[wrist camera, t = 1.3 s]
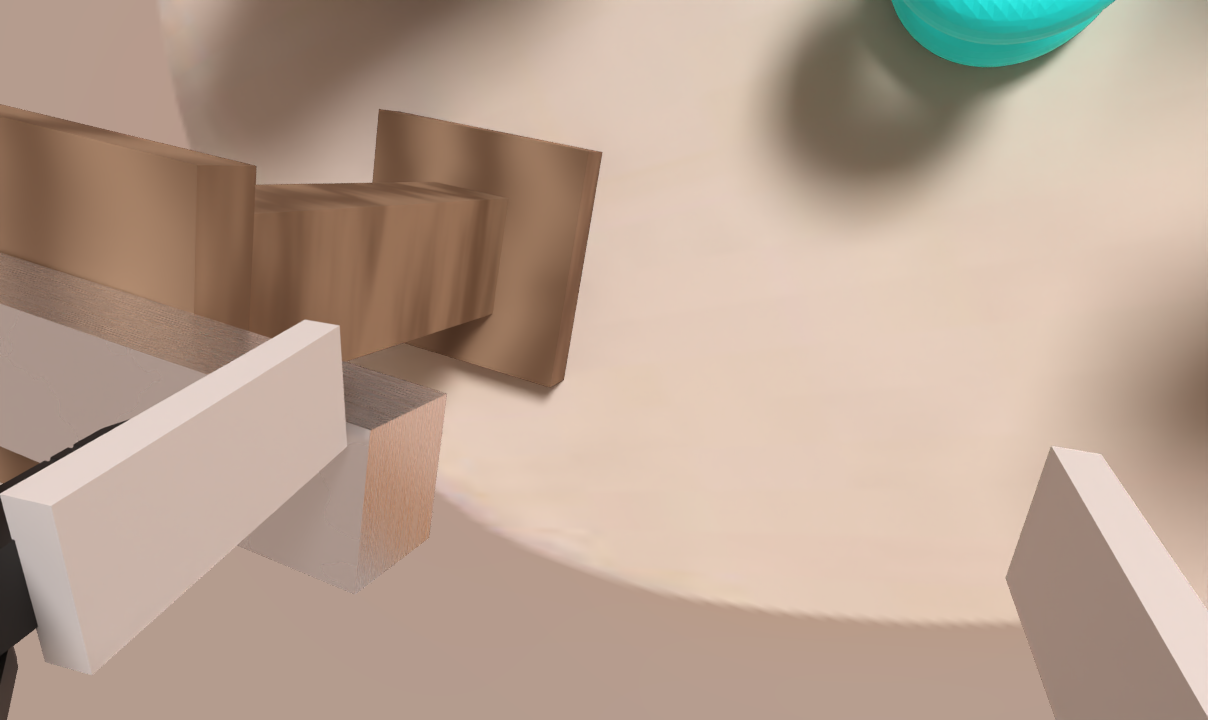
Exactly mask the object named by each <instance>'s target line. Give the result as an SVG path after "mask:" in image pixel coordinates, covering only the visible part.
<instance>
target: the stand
mask: <svg viewBox="0 0 1208 720" xmlns="http://www.w3.org/2000/svg"><path fill="white" fill-rule="evenodd" d="M601 157H602V152H598V151H593V150H588V149H583V148H578V147H573V146H568V145H563V144H558V143H553V142H548V141H543V140H538V139H533V138H528V137H523V136H518V135H513V134H508V133H503V132H498V131H493V130H488V129H483V128H478V127H473V126H468V125H463V124H458V123H453V122H448V121H443V120H438V119H433V118H428V117H423V116H418V115H413V114H408V113H403V112H398V111H390V110H381V109H379V115H378V126H377V137H376V149H375V160H374V172H373V183H335V184H276V185H256V166H255V165H251V164H246V163H242V162H238V161H234V160H230V159H226V158H221V157H217V156H213V155H209V154H205V153H201V152H197V151H192V150H188V149H184V148H180V147H176V146H171V145H168V144H163V143H159V142H155V141H151V140H147V139H143V138H138V137H134V136H130V135H126V134H121V133H118V132H113V131H109V130H105V129H101V128H97V127H93V126H89V125H84V124H80V123H76V122H72V121H68V120H64V119H60V118H55V117H51V116H47V115H43V114H39V113H35V112H30V111H26V110H22V109H18V108H14V107H10V106H6V105H1V104H0V253H3V254H6V255H9V256H12V257H15V258H18V259H22V260H25V261H28V262H31V263H34V264H37V265H41V266H44V267H47V268H50V269H53V270H56V271H60V272H63V273H66V274H69V275H72V276H75V277H79V278H82V279H85V280H88V281H91V282H94V283H98V284H101V285H104V286H107V287H110V288H113V289H117V290H120V291H123V292H126V293H129V294H132V295H136V296H139V297H142V298H145V299H148V300H151V301H155V302H158V303H161V304H164V305H167V306H170V307H174V308H177V309H180V310H183V311H186V312H190V313H193V314H196V315H199V316H202V317H205V318H209V319H212V320H215V321H218V322H221V323H224V324H228V325H231V326H234V327H237V328H240V329H243V330H247V331H250V332H253V333H256V334H259V335H262V336H266V337H269V338H274V337H275V336H277V335H279V334H281V333H282V332H284V331H286V330H288V329H289V328H291V327H293V326H295V325H296V324H298V323H300V322H302V321H303V320H310V321H316V322H322V323H328V324H334V325H340V340H341V356H342V361H345V362H346V361H349V360H352V359H355V358H358V357H361V356H364V355H368V354H371V353H374V352H377V351H380V350H383V349H386V348H389V347H392V346H395V345H398V344H401V343H406V344H409V345H413V346H416V347H419V348H422V349H426V350H429V351H432V352H436V353H439V354H442V355H445V356H449V357H452V358H455V359H458V360H462V361H465V362H468V363H471V364H475V365H478V366H481V367H485V368H488V369H491V370H494V371H498V372H501V373H504V374H507V375H511V376H514V377H517V378H520V379H524V380H527V381H530V382H533V383H537V384H540V385H543V386H547V387H552V386H554V385H556V384H557V383H559V382H561V381H562V380H564V375H565V369H566V364H567V358H568V352H569V346H570V340H571V334H572V328H573V322H574V316H575V310H576V305H577V299H578V293H579V287H580V281H581V275H582V269H583V263H584V257H585V252H586V246H587V240H588V234H589V228H590V222H591V216H592V210H593V204H594V198H595V193H596V187H597V181H598V175H599V169H600V163H601ZM37 464H39V462H37V461H34V460H32V459H29V458H27V457H25V456H22V455H20V454H17V453H15V452H13V451H10V450H8V449H6V448H3V447H1V446H0V482H1V483H5V482H7V481H9V480H11V479H12V478H14V477H16V476H18V475H19V474H21V473H23V472H25V471H27V470H28V469H30V468H32V467H34V466H36V465H37Z"/></svg>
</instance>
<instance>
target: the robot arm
mask: <svg viewBox="0 0 1208 720" xmlns="http://www.w3.org/2000/svg"><path fill="white" fill-rule="evenodd" d="M346 447H347V435H346V419H345V403H344V388H343V372H342V356H341V340H340V325H334V324H328V323H322V322H316V321H310V320H303V321H302V322H300V323H298V324H296V325H295V326H293V327H291V328H289V329H288V330H286V331H284V332H282V333H281V334H279V335H277V336H275V337H274V338H272V339H270V340H268V341H267V342H265V343H263V344H261V345H260V346H258V347H256V348H254V349H253V350H251V351H249V352H247V353H246V354H244V355H242V356H240V357H239V358H237V359H235V360H233V361H232V362H230V363H228V364H226V365H225V366H223V367H221V368H219V369H217V370H216V371H214V372H212V373H210V374H209V375H207V376H205V377H203V378H202V379H200V380H198V381H196V382H195V383H193V384H191V385H189V386H188V387H186V388H184V389H182V390H181V391H179V392H177V393H175V394H174V395H172V396H170V397H168V398H167V399H165V400H163V401H161V402H160V403H158V404H156V405H154V406H153V407H151V408H149V409H147V410H146V411H144V412H142V413H140V414H139V415H137V416H135V417H133V418H132V419H129V420H126V421H122V422H119V423H116V424H113V425H110V426H107V427H104V428H102V429H100V430H98V431H96V432H94V433H93V434H91V435H89V436H87V437H85V438H84V439H82V440H80V441H78V442H77V443H75V444H73V448H69V447H68V448H66V449H64V450H62V451H60V452H59V453H57V454H55V455H53V456H52V457H50V461H45V460H44V461H43V462H41V463H39V464H37V465H36V466H34V467H32V468H30V469H28V470H27V471H25V472H23V473H21V474H19V475H18V476H16V477H14V478H12V479H11V480H9V481H7V482H5V483H3V484H2V485H0V720H7V717H8V712H9V707H10V702H11V698H12V693H13V688H14V683H15V679H16V674H17V670H18V664H17V657H16V654H15V650H14V647H13V646H14V645H15V644H16V643H18V642H19V641H20V640H21V639H23V638H24V637H25V636H27V635H28V634H29V633H30V632H32V631H33V630H34V629H35V628H36V630H37V633H38V637H39V640H40V644H41V648H42V652H43V655H44V659H45V662H47V663H51V664H54V665H58V666H62V667H65V668H69V669H72V670H76V671H80V672H83V673H87V674H90V675H93V674H94V673H95V672H96V671H97V670H98V669H99V668H100V667H102V666H103V665H104V664H105V663H106V662H107V661H108V660H109V659H110V658H112V657H113V656H114V655H115V654H116V653H117V652H118V651H119V650H120V649H122V648H123V647H124V646H125V645H126V644H127V643H128V642H129V641H131V640H132V639H133V638H134V637H135V636H136V635H137V634H138V633H140V632H141V631H142V630H143V629H144V628H145V627H146V626H147V625H148V624H150V623H151V622H152V621H153V620H154V619H155V618H156V617H157V616H159V615H160V614H161V613H162V612H163V611H164V610H165V609H166V608H167V607H169V606H170V605H171V604H172V603H173V602H174V601H175V600H176V599H178V598H179V597H180V596H181V595H182V594H183V593H184V592H185V591H186V590H188V589H189V588H190V587H191V586H192V585H193V584H194V583H195V582H197V581H198V580H199V579H200V578H201V577H202V576H203V575H204V574H205V573H207V572H208V571H209V570H210V569H211V568H212V567H213V566H214V565H215V564H216V563H218V562H219V561H220V560H221V559H222V558H223V557H224V556H226V555H227V554H228V553H229V552H230V551H231V550H232V549H233V548H234V547H236V546H237V545H238V544H239V543H240V542H241V541H242V540H243V539H245V538H246V537H247V536H248V535H249V534H250V533H251V532H252V531H253V530H255V529H256V528H257V527H258V526H259V525H260V524H261V523H262V522H263V521H265V520H266V519H267V518H268V517H269V516H270V515H271V514H272V513H274V512H275V511H276V510H277V509H278V508H279V507H280V506H281V505H282V504H284V503H285V502H286V501H287V500H288V499H289V498H290V497H291V496H293V495H294V494H295V493H296V492H297V491H298V490H299V489H300V488H301V487H303V486H304V485H305V484H306V483H307V482H308V481H309V480H310V479H311V478H313V477H314V476H315V475H316V474H317V473H318V472H319V471H320V470H322V469H323V468H324V467H325V466H326V465H327V464H328V463H329V462H330V461H332V460H333V459H334V458H335V457H336V456H337V455H338V454H339V453H340V452H342V451H343V450H344V449H345V448H346ZM1006 581H1007V584H1008V587H1009V589H1010V592H1011V595H1012V598H1013V601H1014V604H1015V606H1016V609H1017V612H1018V615H1019V618H1020V621H1021V623H1022V626H1023V629H1024V632H1025V635H1026V638H1027V640H1028V643H1029V646H1030V649H1031V652H1032V654H1033V657H1034V660H1035V663H1036V666H1037V669H1038V671H1039V674H1040V677H1041V680H1042V682H1043V686H1044V688H1045V691H1046V694H1047V697H1048V700H1049V703H1050V705H1051V708H1052V711H1053V714H1054V717H1055V719H1056V720H1208V610H1207V609H1206V607H1205V606H1204V604H1203V603H1202V601H1201V600H1200V598H1199V597H1198V595H1197V594H1196V592H1195V591H1194V590H1193V588H1192V587H1191V585H1190V584H1189V582H1188V581H1187V579H1186V578H1185V576H1184V575H1183V573H1182V572H1181V570H1180V569H1179V568H1178V566H1177V565H1176V563H1175V562H1174V560H1173V559H1172V557H1171V556H1170V554H1169V553H1168V551H1167V550H1166V549H1165V547H1164V546H1163V544H1162V543H1161V541H1160V540H1159V538H1158V537H1157V535H1156V534H1155V532H1154V531H1153V529H1152V528H1151V527H1150V525H1149V524H1148V522H1147V521H1146V519H1145V518H1144V516H1143V515H1142V513H1141V512H1140V510H1139V509H1138V507H1137V506H1136V505H1135V503H1134V502H1133V500H1132V499H1131V497H1130V496H1129V494H1128V493H1127V491H1126V490H1125V488H1124V487H1123V486H1122V484H1121V483H1120V481H1119V480H1118V478H1117V477H1116V475H1115V474H1114V472H1113V471H1112V469H1111V468H1110V466H1109V465H1108V464H1107V462H1106V461H1105V459H1104V458H1103V456H1102V455H1101V454H1098V453H1092V452H1086V451H1080V450H1074V449H1068V448H1062V447H1056V446H1051V448H1050V451H1049V454H1048V456H1047V459H1046V462H1045V465H1044V468H1043V471H1042V474H1041V477H1040V480H1039V483H1038V485H1037V488H1036V491H1035V494H1034V497H1033V500H1032V503H1031V506H1030V509H1029V511H1028V514H1027V517H1026V520H1025V523H1024V526H1023V529H1022V532H1021V535H1020V538H1019V540H1018V543H1017V546H1016V549H1015V552H1014V555H1013V558H1012V561H1011V564H1010V566H1009V569H1008V572H1007V575H1006Z"/></svg>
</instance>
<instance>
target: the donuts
mask: <svg viewBox="0 0 1208 720" xmlns="http://www.w3.org/2000/svg"><path fill="white" fill-rule="evenodd" d="M891 1H892V4H893V6H894V9H895V11H896V13H897V15H898V17H899V19H900V21H901V23H902V24H903V26H904V27H905V28H906V30H907V31H908V32H909V33H910V35H911V36H912V37H913V38H914V39H915V40H916V41H917V42H918V43H920V44H921V45H922V46H923V47H925V48H926V49H927V50H929V51H930V52H932V53H934V54H936V55H937V56H939V57H942V58H944V59H946V60H949V61H952V62H955V63H958V64H962V65H968V66H975V67H999V66H1007V65H1013V64H1017V63H1022V62H1025V61H1028V60H1031V59H1034V58H1037V57H1039V56H1042V55H1044V54H1046V53H1048V52H1050V51H1052V50H1054V49H1056V48H1058V47H1059V46H1061V45H1063V44H1064V43H1066V42H1067V41H1069V40H1070V39H1072V38H1073V37H1074V36H1076V35H1077V34H1078V33H1080V32H1081V31H1082V30H1083V29H1084V28H1086V27H1087V26H1088V25H1089V24H1090V23H1091V22H1092V21H1093V20H1094V19H1095V18H1096V17H1097V16H1098V15H1099V14H1100V13H1101V12H1102V10H1103V9H1105V8H1106V7H1107V6H1109V5H1110V4H1111V3H1113V2H1114V1H1115V0H891Z"/></svg>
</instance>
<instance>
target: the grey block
mask: <svg viewBox="0 0 1208 720" xmlns="http://www.w3.org/2000/svg"><path fill="white" fill-rule="evenodd" d="M270 339H272V338H269V337H266V336H262V335H259V334H256V333H253V332H250V331H247V330H243V329H240V328H237V327H234V326H231V325H228V324H224V323H221V322H218V321H215V320H212V319H209V318H205V317H202V316H199V315H196V314H193V313H190V312H186V311H183V310H180V309H177V308H174V307H170V306H167V305H164V304H161V303H158V302H155V301H151V300H148V299H145V298H142V297H139V296H136V295H132V294H129V293H126V292H123V291H120V290H117V289H113V288H110V287H107V286H104V285H101V284H98V283H94V282H91V281H88V280H85V279H82V278H79V277H75V276H72V275H69V274H66V273H63V272H60V271H56V270H53V269H50V268H47V267H44V266H41V265H37V264H34V263H31V262H28V261H25V260H22V259H18V258H15V257H12V256H9V255H6V254H3V253H0V446H1V447H3V448H6V449H8V450H10V451H13V452H15V453H17V454H20V455H22V456H25V457H27V458H29V459H32V460H34V461H37V462H39V463H41V462H43V461H44V460H45V461H50V457H52V456H53V455H55V454H57V453H59V452H60V451H62V450H64V449H66V448H68V447H69V448H73V444H75V443H77V442H78V441H80V440H82V439H84V438H85V437H87V436H89V435H91V434H93V433H94V432H96V431H98V430H100V429H102V428H104V427H107V426H110V425H113V424H116V423H119V422H122V421H126V420H129V419H132V418H133V417H135V416H137V415H139V414H140V413H142V412H144V411H146V410H147V409H149V408H151V407H153V406H154V405H156V404H158V403H160V402H161V401H163V400H165V399H167V398H168V397H170V396H172V395H174V394H175V393H177V392H179V391H181V390H182V389H184V388H186V387H188V386H189V385H191V384H193V383H195V382H196V381H198V380H200V379H202V378H203V377H205V376H207V375H209V374H210V373H212V372H214V371H216V370H217V369H219V368H221V367H223V366H225V365H226V364H228V363H230V362H232V361H233V360H235V359H237V358H239V357H240V356H242V355H244V354H246V353H247V352H249V351H251V350H253V349H254V348H256V347H258V346H260V345H261V344H263V343H265V342H267V341H268V340H270ZM342 372H343V388H344V403H345V419H346V435H347V447H346V448H345V449H344V450H343V451H342V452H340V453H339V454H338V455H337V456H336V457H335V458H334V459H333V460H332V461H330V462H329V463H328V464H327V465H326V466H325V467H324V468H323V469H322V470H320V471H319V472H318V473H317V474H316V475H315V476H314V477H313V478H311V479H310V480H309V481H308V482H307V483H306V484H305V485H304V486H303V487H301V488H300V489H299V490H298V491H297V492H296V493H295V494H294V495H293V496H291V497H290V498H289V499H288V500H287V501H286V502H285V503H284V504H282V505H281V506H280V507H279V508H278V509H277V510H276V511H275V512H274V513H272V514H271V515H270V516H269V517H268V518H267V519H266V520H265V521H263V522H262V523H261V524H260V525H259V526H258V527H257V528H256V529H255V530H253V531H252V532H251V533H250V534H249V535H248V536H247V537H246V538H245V539H243V540H242V541H241V542H240V543H239V544H238V545H237V546H240V547H242V548H245V549H247V550H249V551H252V552H254V553H257V554H259V555H261V556H264V557H266V558H268V559H271V560H274V561H276V562H278V563H280V564H283V565H285V566H288V567H290V568H292V569H295V570H297V571H300V572H302V573H304V574H307V575H309V576H312V577H314V578H316V579H319V580H321V581H324V582H326V583H329V584H331V585H333V586H336V587H338V588H340V589H343V590H345V591H347V592H350V593H352V594H356V593H357V592H359V591H360V590H361V589H363V588H364V587H365V586H367V585H368V584H369V583H370V582H372V581H373V580H375V579H376V578H377V577H378V576H380V575H381V574H382V573H383V572H385V571H386V570H388V569H389V568H390V567H392V566H393V565H394V564H395V563H397V562H398V561H399V560H401V559H402V558H403V557H405V556H406V555H407V554H409V553H410V552H411V551H412V550H414V549H415V548H416V547H418V546H419V545H420V544H422V543H423V542H424V541H426V540H427V539H428V538H429V534H430V525H431V518H432V510H433V502H434V494H435V485H436V477H437V469H438V461H439V453H440V445H441V437H442V429H443V421H444V413H445V405H446V397H447V394H446V393H443V392H440V391H437V390H433V389H430V388H427V387H424V386H421V385H418V384H414V383H411V382H408V381H405V380H402V379H399V378H395V377H392V376H389V375H386V374H383V373H380V372H376V371H373V370H370V369H367V368H364V367H361V366H357V365H354V364H351V363H348V362H345V361H342Z"/></svg>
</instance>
